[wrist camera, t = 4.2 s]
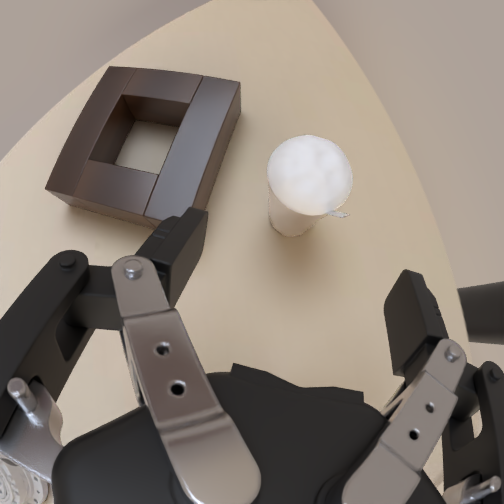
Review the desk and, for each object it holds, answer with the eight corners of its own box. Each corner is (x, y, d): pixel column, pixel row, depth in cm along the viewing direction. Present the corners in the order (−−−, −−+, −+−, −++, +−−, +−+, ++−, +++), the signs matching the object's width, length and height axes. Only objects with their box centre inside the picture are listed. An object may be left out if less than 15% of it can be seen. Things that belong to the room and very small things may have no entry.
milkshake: (276, 264, 23) (299, 232, 14) (252, 198, 24) (256, 129, 14) (332, 244, 24) (386, 202, 14) (306, 181, 25) (339, 109, 15)
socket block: (241, 110, 26) (240, 81, 22) (195, 241, 24) (185, 227, 20) (122, 91, 26) (109, 66, 22) (68, 204, 24) (44, 188, 20)
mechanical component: (34, 430, 20) (-28, 412, 20) (6, 443, 16) (-54, 419, 16) (61, 513, 19) (-3, 488, 18) (42, 532, 14) (-24, 501, 14)
